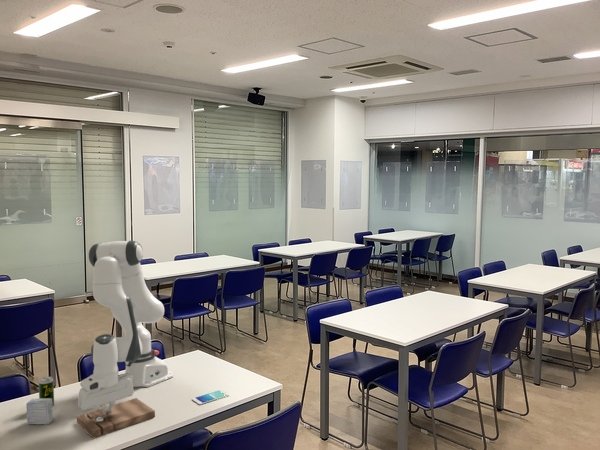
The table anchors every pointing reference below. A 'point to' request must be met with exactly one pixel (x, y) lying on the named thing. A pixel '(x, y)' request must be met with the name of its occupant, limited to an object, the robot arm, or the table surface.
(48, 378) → the beer can
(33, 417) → the medicine box
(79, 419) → the grooved wooden board
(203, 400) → the smartphone
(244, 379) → the table surface
